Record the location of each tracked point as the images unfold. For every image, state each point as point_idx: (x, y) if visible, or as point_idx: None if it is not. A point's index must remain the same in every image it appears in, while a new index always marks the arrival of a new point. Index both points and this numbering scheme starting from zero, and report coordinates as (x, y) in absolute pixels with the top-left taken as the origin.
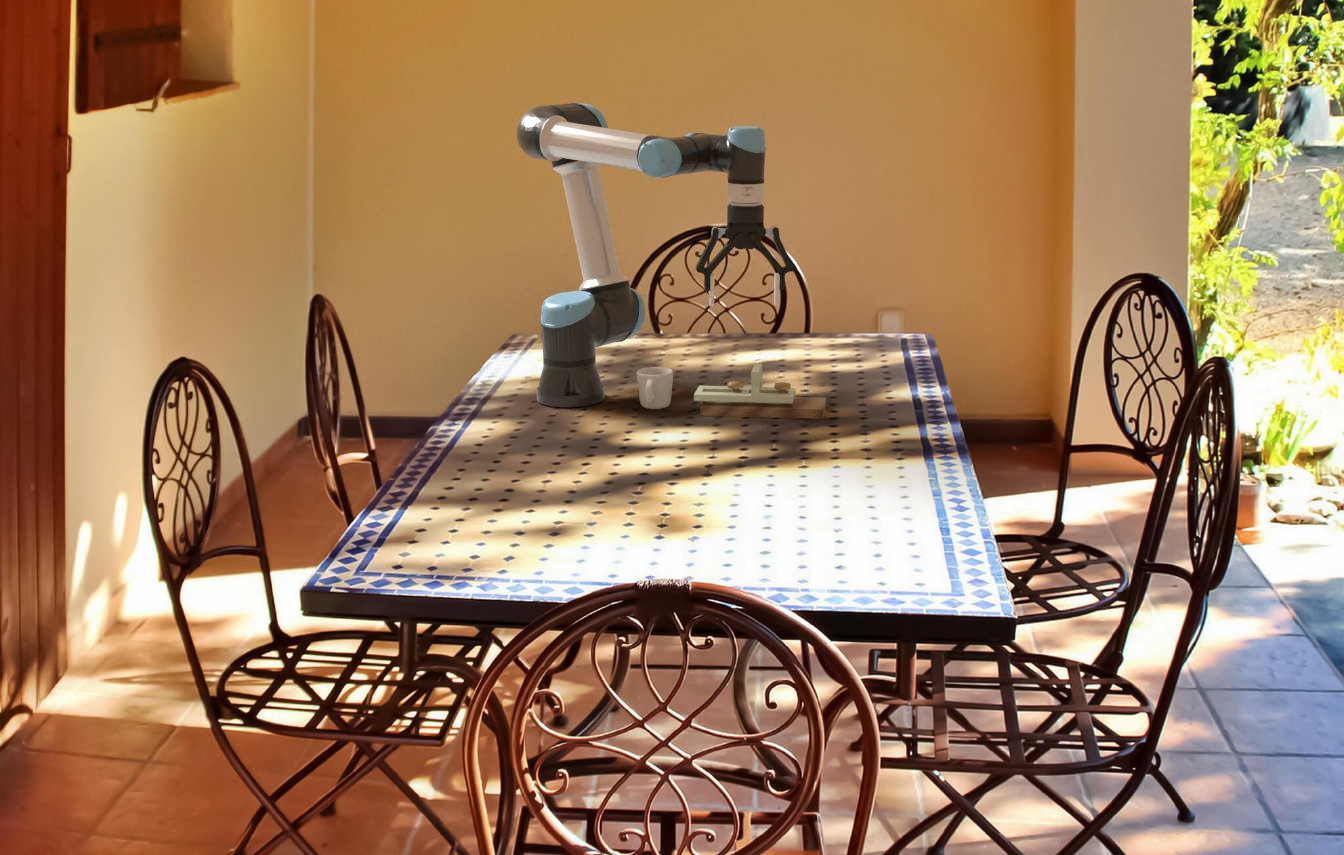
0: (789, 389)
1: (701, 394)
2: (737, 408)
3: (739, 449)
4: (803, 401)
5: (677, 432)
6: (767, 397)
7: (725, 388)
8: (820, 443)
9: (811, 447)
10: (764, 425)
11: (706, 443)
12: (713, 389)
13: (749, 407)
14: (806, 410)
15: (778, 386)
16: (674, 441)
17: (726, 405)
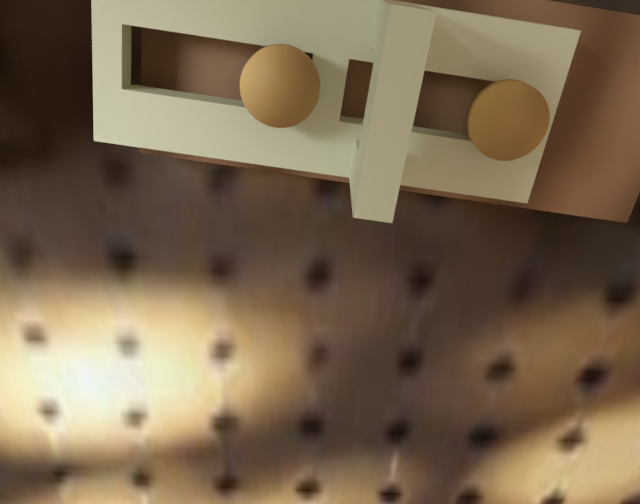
0: (542, 65)
1: (127, 141)
2: (292, 173)
3: (296, 490)
4: (582, 91)
5: (101, 341)
6: (419, 187)
7: (231, 28)
8: (527, 455)
9: (493, 483)
10: (386, 279)
11: (203, 442)
12: (173, 31)
13: (340, 178)
14: (561, 212)
15: (483, 153)
16: (108, 422)
17: None
